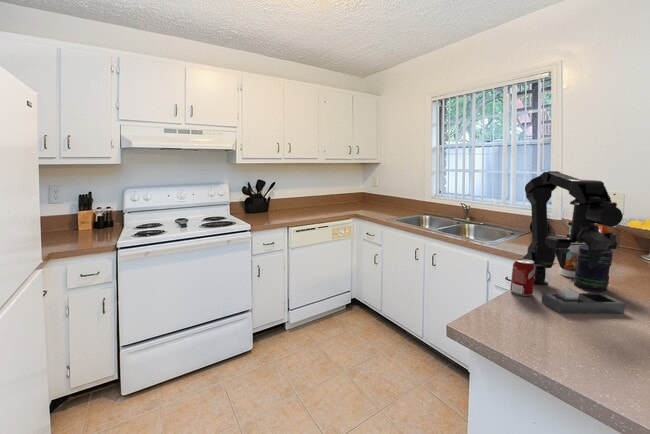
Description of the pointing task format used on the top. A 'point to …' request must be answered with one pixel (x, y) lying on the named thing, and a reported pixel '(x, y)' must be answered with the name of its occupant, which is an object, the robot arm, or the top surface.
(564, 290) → the grey foam cube
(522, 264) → the soda can
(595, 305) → the tray
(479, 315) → the top surface
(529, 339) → the top surface
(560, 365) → the top surface
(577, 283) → the storage jar
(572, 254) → the milk bottle
